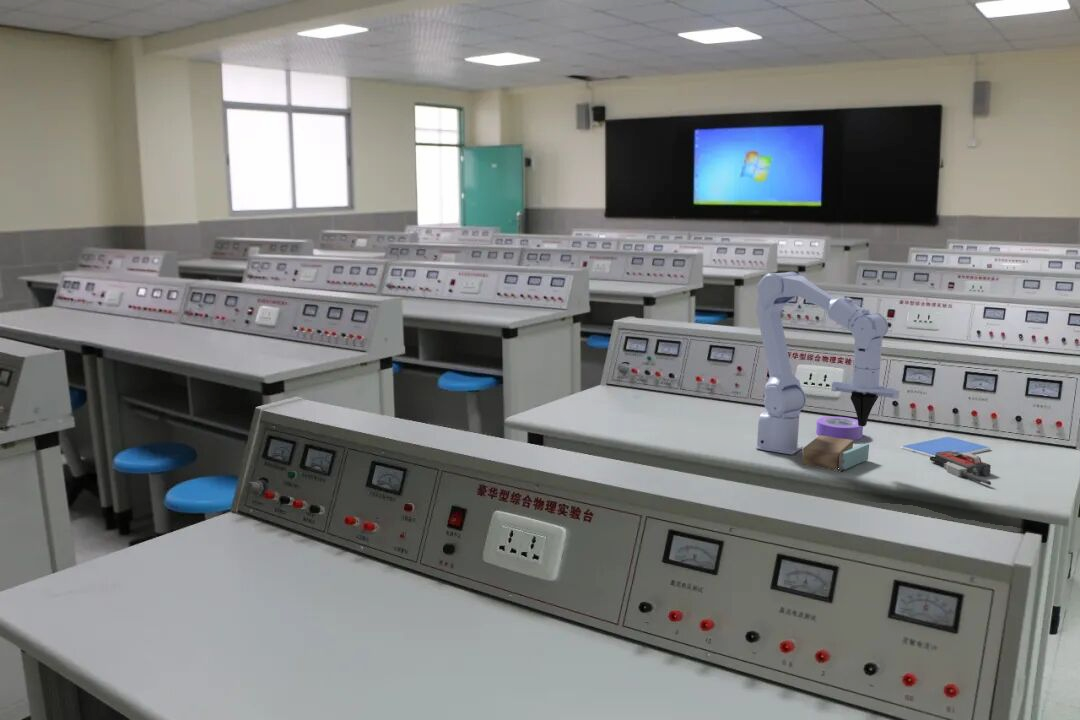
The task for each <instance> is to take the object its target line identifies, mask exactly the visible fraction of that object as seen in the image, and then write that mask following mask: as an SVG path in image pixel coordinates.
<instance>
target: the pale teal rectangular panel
mask: <svg viewBox="0 0 1080 720" xmlns="http://www.w3.org/2000/svg"><path fill="white" fill-rule="evenodd" d="M869 451H870V444H869V443H863V444H859V445H857V446H854V447H853V448H852V449H850V450H847V451H845V452H842V453H843V465H842V470H848V469H849V468H852V467H854V466H856V465H858V464H861V463H864V462H866V461H868V460H869Z"/></svg>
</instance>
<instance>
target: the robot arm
mask: <svg viewBox="0 0 1080 720" xmlns="http://www.w3.org/2000/svg"><path fill="white" fill-rule="evenodd" d="M756 288H757V294H758V296H757V301H756V315H757V321H758V325H759V330H760V336H761V341H762V346H763V351H764V356H765V361H766V366H767V371H768V372H767V373H768V375H769V378H768V380H767V382H766V384H765V385H764V399H763V404H764V407H765V410H766V411H763V412H761V414H760V416H759V418H758V425H757V442H756V443H757V445H756V447H755V449H756V450H762V451H767V452H772V453H773V452H775V453H779V454H784V455H785V454H786V455H791V456H792V455H795V454H796V453H797V452H799V451H800V450H801V449H803V448H804V447H803V445H799V444H798V441H799V428H800V427H799V425H800V415H801V410H802V409H803V408H804V407H805V406H806V403H807V395H806V393H805V391H804V390H803V388H802V386H801V383H800V380H799V379H798V378H797V377H796V376H795V375H794V374H793V371H792V367H791V360H790V356H789V352H788V346H787V340H786V336H785V331H784V326H783V322H782V316H781V312H782V310H783V309H784V308H785V306H786V305H787V304H788V303H789V302H790V301H792V300H793V299H795V298H796V297H800V298H802V299H804V300H806V301H808V302H809V303H812V304H813V305H816V306H817V307H820V308H821V309H823V310H825V311H826V312H827V317H828V319H830V320H832V321H834V322H835V323H837V324H838V325H840V326H841V327H843V328H844V329H846V330H848V331H849V332H851V335H852V337H853V339H854V351H853V352H854V355H853V367H852V368H853V369H852V381H851V382H841V381H840V382H839V381H833V382H832V383H831V392H841V393H850V400H851V403H852V405H853V407H854V410H855V413H856V420H858V426H863V427H866V426H867V424H868V423H867V422H868V419H869V416H870V414H871V411H872V410H873V407H874V405H875V403H876V402H877V401H878V398H879V397H882V398H883V397H885V398H891V399H893V400H894V399H895V400H897V399H899V398H900V392H901V391H900V388H894V387H888V386H882V385H880V376H881V375H880V373H881V363H882V362H881V361H882V360H881V359H882V351H883V350H882V348H883V337H885V336H886V335H887V333H888V330H889V323H888V320H887V319H886V317H885V316H883V315H882V314H881V313H878V312H873V313H871V312H870V310H869V309H868V308H866V307H864V308H863V307H861V306H859V305H857V304H856V303H854V302H853V299H852V298H851V297H849V296H848V297H844V296H842V297H841V296H840V297H837V298H835V297H834V296H832V295H831V294H829V293H827V292H826V291H825V290H823V289H822V288H820V287H818V286H817V285H815V283H812V282H811V281H810V280H809V279H807V278H806V277H805V276H803V275H801V274H799V273H797V272H796V271H787V272H778V273H777V272H776V273H773V272H769V273H766V274H764V275H763V277H761V279H760V280H759V281H758V283H757V284H756Z"/></svg>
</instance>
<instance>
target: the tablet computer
mask: <svg viewBox="0 0 1080 720" xmlns="http://www.w3.org/2000/svg"><path fill="white" fill-rule="evenodd" d="M900 449H901V450H904V451H907V452H911V453H915V454H919V455H921V456H925V457H929V458H930V457H935V454H936V453H937V452H944V451H959V452H958V453H970V454H973V455H975V454H979V453H983V452H988V451H991V447H990V446H987V445H983V444H979V443H975V442H970V441H968V440H967V441H966V440H964V439H959V438H955V437H952V436H945V437H940V438H935V439H930V440H926V441H921V442H915V443H911V444H906V445H905V444H904V445H901V446H900Z"/></svg>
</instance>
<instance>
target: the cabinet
mask: <svg viewBox="0 0 1080 720" xmlns="http://www.w3.org/2000/svg"><path fill="white" fill-rule="evenodd" d="M852 448H854V440H849V439H842V438H836V437H829V436H822V435H820V436H819V435H817V437H816V438H814V439H813V440H811V441H810V442H809V443H808V444H807V445H805V446H804V447H803V448H802V449H803V450H802V462H801V463H802V465H805V466H810V467H815V468H822V467H823V469H828V468H829V469H828V470H834V469H836V470H837V471H836V470H835V471H836V472H839V471H842V472H843V469H842V465H843V453H842V452H845V451H847V450H850V449H852ZM838 468H839V469H838Z"/></svg>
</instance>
